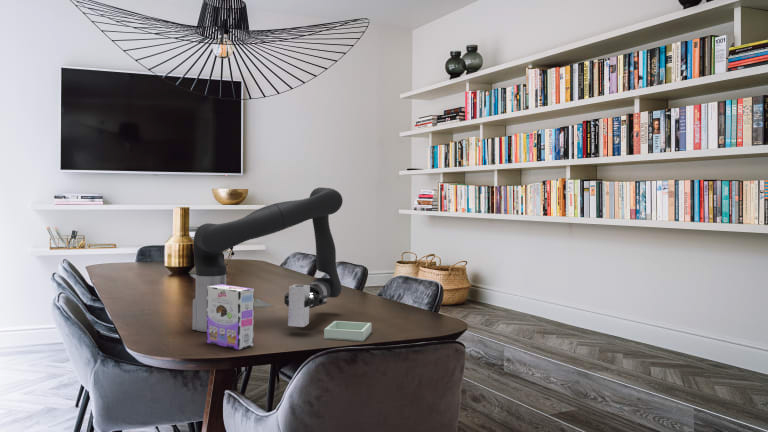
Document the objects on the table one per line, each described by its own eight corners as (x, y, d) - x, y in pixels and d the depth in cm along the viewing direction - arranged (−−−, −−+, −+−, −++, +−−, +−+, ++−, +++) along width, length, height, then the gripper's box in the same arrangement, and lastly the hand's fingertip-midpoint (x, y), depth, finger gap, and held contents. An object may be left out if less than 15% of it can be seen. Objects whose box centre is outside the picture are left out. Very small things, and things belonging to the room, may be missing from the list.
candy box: (254, 346, 161) (255, 288, 161) (238, 350, 156) (239, 290, 156) (221, 338, 169) (222, 283, 168) (205, 342, 164) (206, 285, 164)
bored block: (288, 325, 174) (289, 286, 174) (293, 322, 179) (294, 284, 179) (303, 327, 174) (304, 287, 173) (308, 323, 178) (309, 284, 178)
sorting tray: (324, 338, 171) (324, 329, 171) (334, 330, 183) (334, 320, 183) (363, 341, 169) (363, 331, 169) (371, 332, 181) (371, 323, 181)
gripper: (292, 282, 191) (274, 289, 175) (334, 284, 189) (319, 292, 172) (292, 304, 192) (273, 314, 175) (333, 307, 189) (318, 317, 172)
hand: (296, 303), depth 174 cm, fingers closed on bored block, 5 cm apart
